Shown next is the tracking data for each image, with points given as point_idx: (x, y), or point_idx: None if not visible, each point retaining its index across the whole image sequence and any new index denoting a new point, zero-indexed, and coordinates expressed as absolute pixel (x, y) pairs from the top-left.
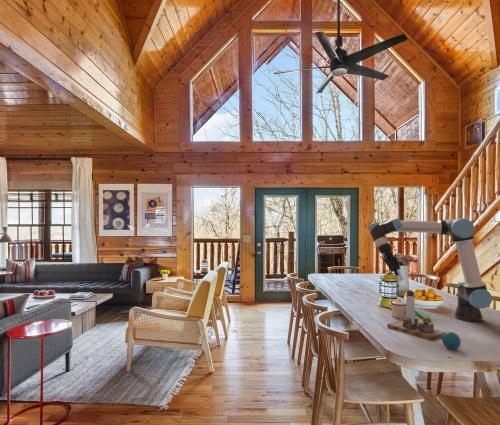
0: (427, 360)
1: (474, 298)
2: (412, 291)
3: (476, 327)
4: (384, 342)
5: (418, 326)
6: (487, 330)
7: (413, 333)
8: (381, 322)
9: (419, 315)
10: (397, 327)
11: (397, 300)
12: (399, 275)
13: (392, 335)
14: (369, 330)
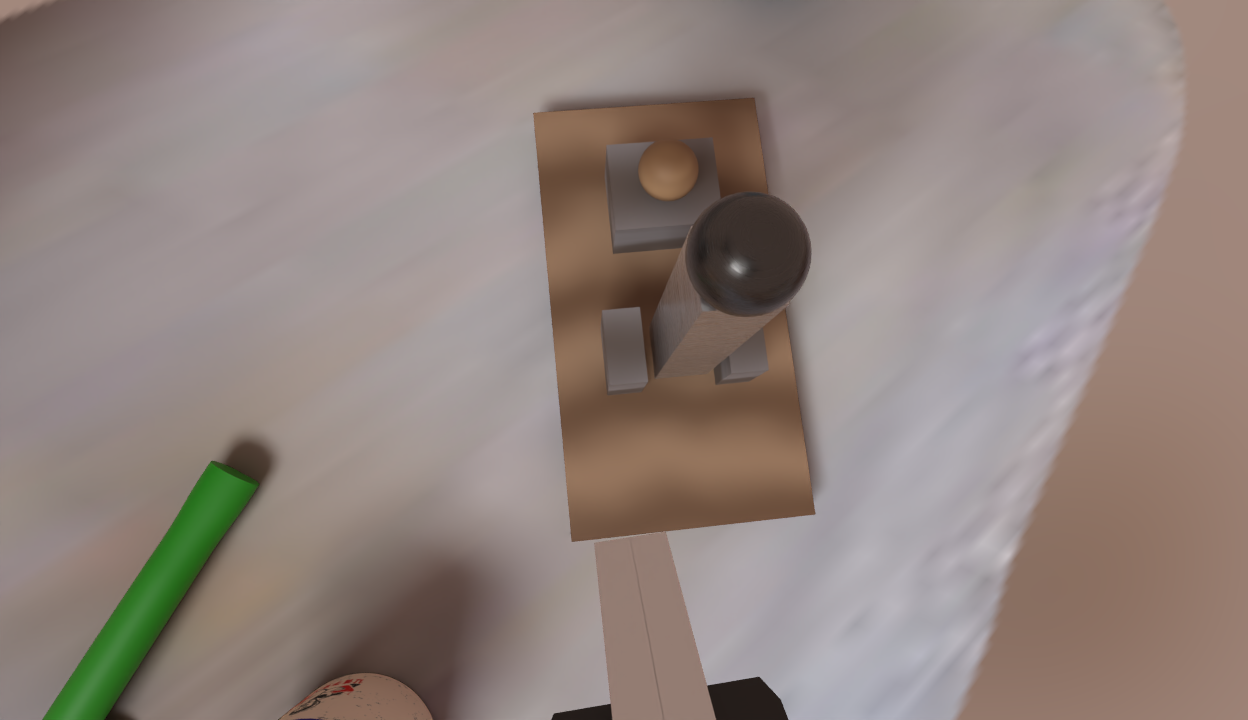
0: None
1: None
2: (754, 197)
3: (34, 144)
4: (1113, 247)
5: None
6: (51, 55)
7: None
8: (724, 670)
9: (159, 632)
10: (796, 403)
11: None
12: (694, 649)
13: (933, 332)
14: (1022, 521)
